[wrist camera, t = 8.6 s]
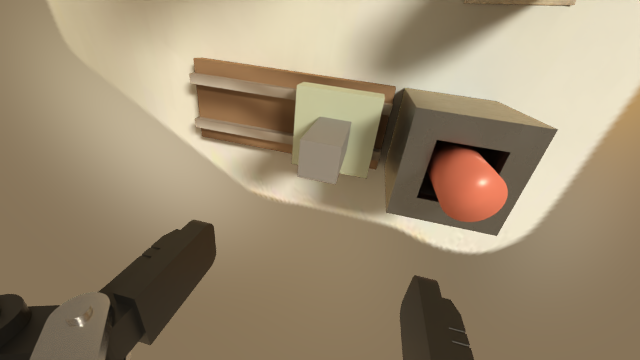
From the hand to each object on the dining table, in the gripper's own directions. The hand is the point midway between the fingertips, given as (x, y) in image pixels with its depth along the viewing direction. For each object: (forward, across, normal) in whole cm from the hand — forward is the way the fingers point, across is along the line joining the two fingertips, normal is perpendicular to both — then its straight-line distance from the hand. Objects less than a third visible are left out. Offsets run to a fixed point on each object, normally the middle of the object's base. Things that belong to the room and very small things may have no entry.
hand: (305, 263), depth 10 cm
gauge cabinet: (+22, -9, 0) cm, 24 cm away
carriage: (+19, +2, 0) cm, 19 cm away
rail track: (+22, +8, 0) cm, 23 cm away
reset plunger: (+15, -9, 0) cm, 17 cm away
